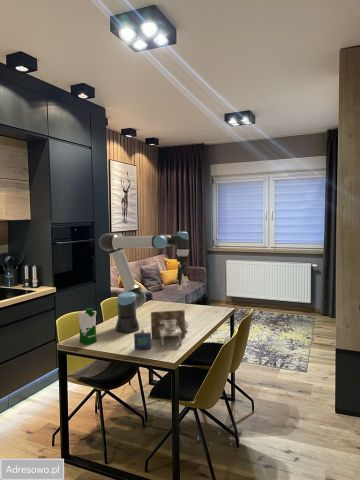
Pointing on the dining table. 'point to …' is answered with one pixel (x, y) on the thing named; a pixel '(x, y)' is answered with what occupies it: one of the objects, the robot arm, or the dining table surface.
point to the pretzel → (186, 324)
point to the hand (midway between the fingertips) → (182, 287)
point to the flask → (142, 340)
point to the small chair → (168, 325)
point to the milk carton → (87, 326)
